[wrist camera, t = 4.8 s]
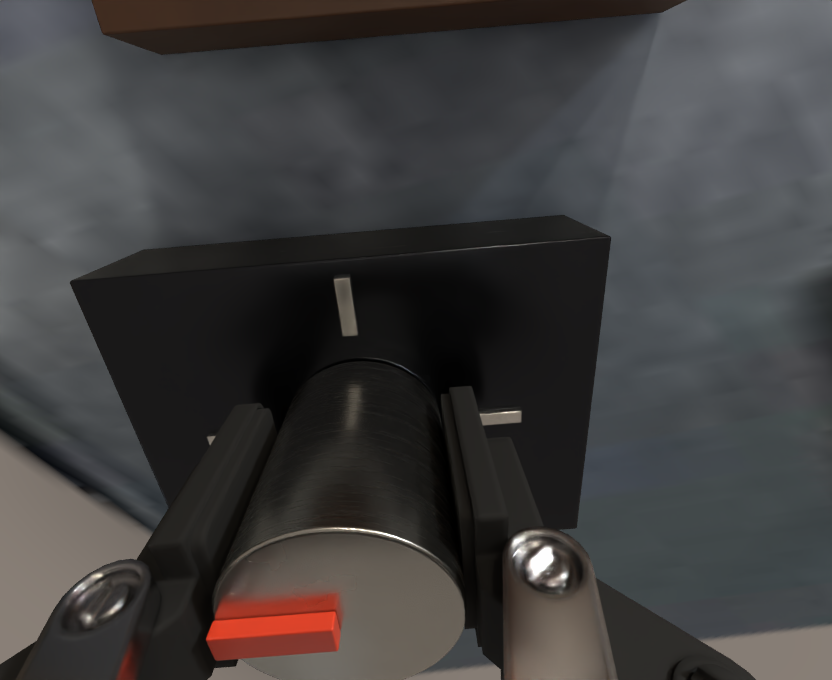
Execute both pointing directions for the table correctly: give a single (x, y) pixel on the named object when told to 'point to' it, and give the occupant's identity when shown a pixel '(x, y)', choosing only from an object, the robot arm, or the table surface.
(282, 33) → the block
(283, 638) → the dial
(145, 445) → the dial panel
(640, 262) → the table surface
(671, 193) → the table surface
